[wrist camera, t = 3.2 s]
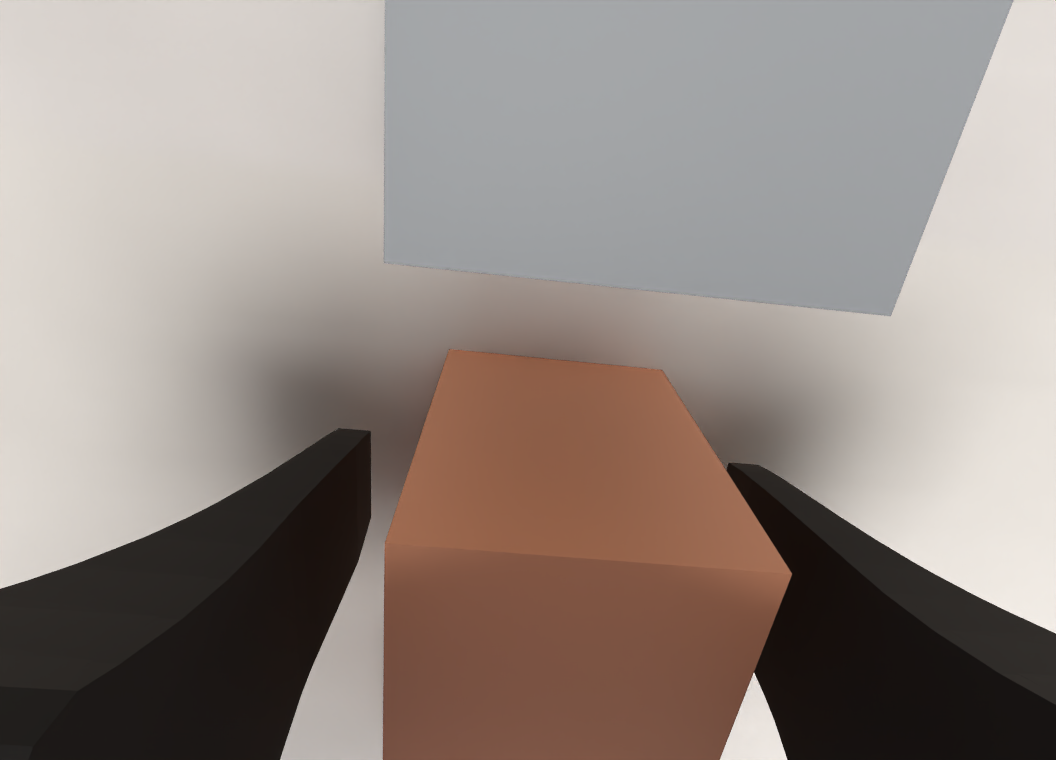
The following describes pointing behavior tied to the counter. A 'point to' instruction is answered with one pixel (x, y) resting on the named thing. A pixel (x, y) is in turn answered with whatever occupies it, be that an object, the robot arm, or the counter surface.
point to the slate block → (678, 140)
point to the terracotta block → (569, 572)
